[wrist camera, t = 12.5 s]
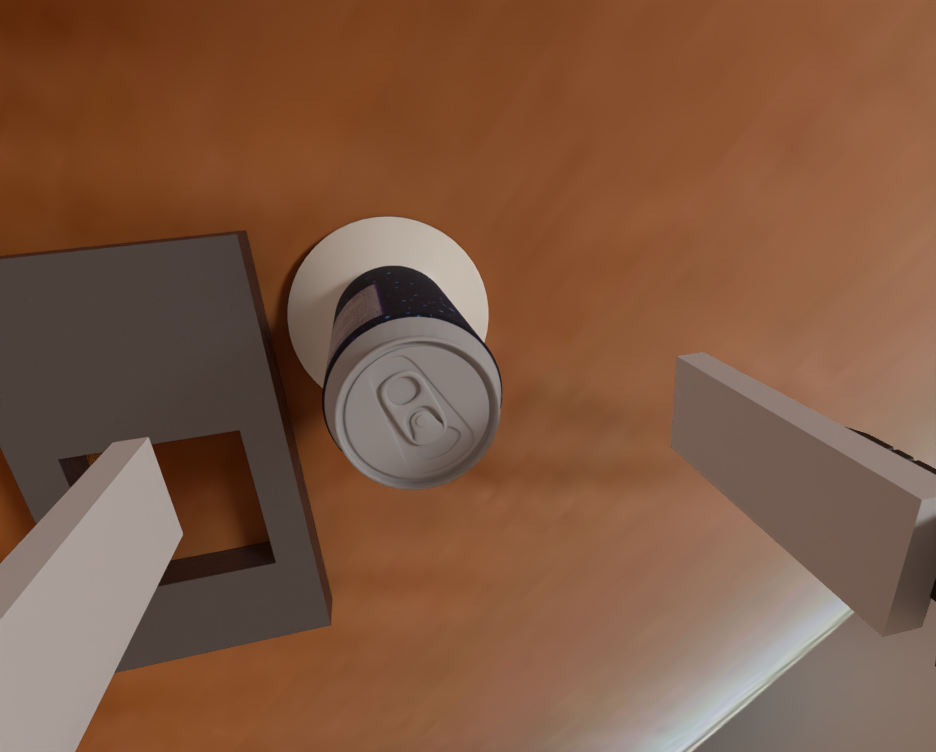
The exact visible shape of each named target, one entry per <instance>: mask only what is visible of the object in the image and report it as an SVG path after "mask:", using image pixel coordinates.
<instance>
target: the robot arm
mask: <svg viewBox="0 0 936 752" xmlns="http://www.w3.org/2000/svg"><path fill="white" fill-rule="evenodd" d="M671 448H672V449H673V450H674V451H675V452H677V453H678V454H679V455H680V456H681V457H682V458H683V459H684V460H686V461H687V462H688V463H689V464H690V465H691V466H692V467H693V468H694V469H696V470H697V471H698V472H699V473H700V474H701V475H702V476H703V477H705V478H706V479H707V480H708V481H709V482H710V483H711V484H712V485H713V486H715V487H716V488H717V489H718V490H719V491H720V492H721V493H722V494H724V495H725V496H726V497H727V498H728V499H729V500H730V501H731V502H733V503H734V504H735V505H736V506H737V507H738V508H739V509H740V510H741V511H743V512H744V513H745V514H746V515H747V516H748V517H749V518H750V519H752V520H753V521H754V522H755V523H756V524H757V525H758V526H759V527H760V528H762V529H763V530H764V531H765V532H766V533H767V534H768V535H769V536H771V537H772V538H773V539H774V540H775V541H776V542H777V543H778V544H780V545H781V546H782V547H783V548H784V549H785V550H786V551H787V552H788V553H790V554H791V555H792V556H793V557H794V558H795V559H796V560H797V561H799V562H800V563H801V564H802V565H803V566H804V567H805V568H806V569H807V570H809V571H810V572H811V573H812V574H813V575H814V576H815V577H816V578H818V579H819V580H820V581H821V582H822V583H823V584H824V585H825V586H827V587H828V588H829V589H830V590H831V591H832V592H833V593H834V594H835V595H837V596H838V597H839V598H840V599H841V600H842V601H843V602H844V603H846V604H847V605H848V606H849V607H850V608H851V609H852V610H853V611H854V612H856V613H857V614H858V615H859V616H860V617H861V618H862V619H863V620H865V621H866V622H867V623H868V624H869V625H870V626H871V627H873V628H874V629H875V630H876V631H877V632H878V633H879V634H880V635H881V636H882V637H884V636H888V635H892V634H896V633H900V632H904V631H908V630H912V629H916V628H920V627H922V625H923V622H924V619H925V616H926V613H927V610H928V607H929V604H930V600H931V598H932V599H933V600H934V601H936V469H935V468H933V467H931V466H929V465H927V464H925V463H923V462H921V461H919V460H917V461H915V460H914V459H913V457H911V456H910V455H908V454H906V453H904V452H902V451H900V450H894V449H893V447H892V446H890V445H888V444H886V443H884V442H883V441H881V440H879V439H877V438H875V437H873V436H871V435H869V434H866V433H863V432H860V431H857V430H854V429H851V428H847V427H844V426H842V425H840V424H839V423H837V422H835V421H833V420H831V419H829V418H827V417H825V416H823V415H821V414H820V413H818V412H816V411H814V410H812V409H810V408H808V407H806V406H804V405H803V404H801V403H799V402H797V401H795V400H793V399H791V398H789V397H787V396H785V395H784V394H782V393H780V392H778V391H776V390H774V389H772V388H770V387H768V386H767V385H765V384H763V383H761V382H759V381H757V380H755V379H753V378H751V377H750V376H748V375H746V374H744V373H742V372H740V371H738V370H736V369H734V368H732V367H731V366H729V365H727V364H725V363H723V362H721V361H719V360H717V359H715V358H714V357H712V356H710V355H708V354H706V353H704V352H701V353H695V354H688V355H682V356H677V362H676V377H675V391H674V406H673V420H672V435H671ZM182 536H183V532H182V529H181V527H180V524H179V521H178V518H177V515H176V512H175V510H174V507H173V504H172V501H171V498H170V496H169V493H168V490H167V487H166V484H165V482H164V479H163V476H162V473H161V470H160V468H159V465H158V462H157V459H156V456H155V454H154V451H153V448H152V445H151V442H150V439H149V437H145V438H139V439H132V440H125V441H119V442H113V443H112V444H111V445H110V446H109V447H108V448H107V449H106V450H105V451H104V452H103V454H102V455H101V456H100V457H99V458H98V459H97V460H96V461H95V462H94V463H93V464H92V465H91V466H90V468H89V469H88V470H87V471H86V472H85V473H84V474H83V475H82V476H81V477H80V478H79V479H78V480H77V482H76V483H75V484H74V485H73V486H72V487H71V488H70V489H69V490H68V491H67V492H66V493H65V494H64V496H63V497H62V498H61V499H60V500H59V501H58V502H57V503H56V504H55V505H54V506H53V507H52V509H51V510H50V511H49V512H48V513H47V514H46V515H45V516H44V517H43V518H42V519H41V520H40V521H39V523H38V524H37V525H36V526H35V527H34V528H33V529H32V530H31V531H30V532H29V533H28V534H27V535H26V537H25V538H24V539H23V540H22V541H21V542H20V543H19V544H18V545H17V546H16V547H15V548H14V549H13V551H12V552H11V553H10V554H9V555H8V556H7V557H6V558H5V559H4V560H3V561H2V562H1V563H0V752H75V751H76V749H77V747H78V745H79V743H80V741H81V739H82V737H83V735H84V733H85V731H86V729H87V727H88V725H89V723H90V721H91V719H92V717H93V715H94V713H95V711H96V709H97V707H98V705H99V703H100V701H101V699H102V697H103V695H104V692H105V690H106V688H107V686H108V684H109V682H110V680H111V678H112V676H113V674H114V672H115V670H116V668H117V666H118V664H119V662H120V660H121V658H122V656H123V654H124V652H125V650H126V648H127V646H128V644H129V642H130V640H131V638H132V636H133V634H134V632H135V630H136V628H137V626H138V624H139V622H140V620H141V618H142V616H143V614H144V612H145V610H146V608H147V606H148V604H149V602H150V600H151V598H152V596H153V594H154V592H155V590H156V588H157V586H158V584H159V582H160V580H161V578H162V576H163V574H164V572H165V570H166V568H167V566H168V564H169V562H170V560H171V558H172V556H173V554H174V552H175V550H176V548H177V546H178V544H179V542H180V540H181V538H182ZM935 666H936V664H935Z"/></svg>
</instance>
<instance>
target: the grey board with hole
mask: <svg viewBox="0 0 936 752" xmlns="http://www.w3.org/2000/svg"><path fill="white" fill-rule="evenodd" d="M238 430H240V433H241V437H242V441H243V444H244V448H245V452H246V455H247V459H248V463H249V466H250V470H251V474H252V477H253V481H254V484H255V488H256V492H257V495H258V499H259V503H260V506H261V510H262V514H263V517H264V521H265V525H266V528H267V532H268V536H269V539H270V542H267V543H262V544H256V545H251V546H246V547H241V548H236V549H231V550H225V551H220V552H215V553H210V554H205V555H200V556H194V557H189V558H184V559H179V560H174V561H170V562H169V564H168V566H167V568H166V570H165V572H164V574H163V576H162V578H161V580H160V582H159V584H158V586H157V588H156V590H155V592H154V594H153V596H152V598H151V600H150V602H149V604H148V606H147V608H146V610H145V612H144V614H143V616H142V618H141V620H140V622H139V624H138V626H137V628H136V630H135V632H134V634H133V636H132V638H131V640H130V642H129V644H128V646H127V648H126V650H125V652H124V654H123V656H122V658H121V660H120V662H119V664H118V666H117V668H116V670H115V672H114V673H117V672H121V671H126V670H130V669H135V668H139V667H144V666H148V665H153V664H157V663H162V662H166V661H171V660H175V659H180V658H185V657H189V656H194V655H198V654H203V653H207V652H212V651H216V650H221V649H225V648H230V647H234V646H239V645H243V644H248V643H252V642H257V641H262V640H266V639H271V638H275V637H280V636H284V635H289V634H293V633H298V632H302V631H307V630H311V629H316V628H320V627H325V626H330V625H331V613H332V597H331V592H330V588H329V584H328V580H327V575H326V571H325V567H324V562H323V558H322V554H321V550H320V545H319V541H318V537H317V532H316V528H315V524H314V520H313V515H312V511H311V507H310V502H309V498H308V494H307V490H306V485H305V481H304V477H303V472H302V468H301V464H300V460H299V455H298V451H297V447H296V442H295V438H294V434H293V430H292V425H291V421H290V417H289V412H288V408H287V404H286V400H285V395H284V391H283V387H282V382H281V378H280V374H279V370H278V365H277V361H276V357H275V353H274V348H273V344H272V340H271V335H270V331H269V327H268V323H267V318H266V314H265V310H264V305H263V301H262V297H261V293H260V288H259V284H258V280H257V275H256V271H255V267H254V263H253V258H252V254H251V250H250V245H249V241H248V237H247V233H246V230H245V231H235V232H226V233H216V234H207V235H197V236H188V237H178V238H169V239H159V240H150V241H140V242H131V243H121V244H111V245H102V246H92V247H83V248H73V249H64V250H54V251H45V252H35V253H26V254H16V255H7V256H0V448H1V450H2V452H3V454H4V456H5V459H6V461H7V463H8V465H9V467H10V469H11V471H12V474H13V476H14V478H15V480H16V482H17V484H18V487H19V489H20V491H21V493H22V495H23V497H24V499H25V502H26V504H27V506H28V508H29V510H30V512H31V515H32V517H33V519H34V521H35V523H36V525H37V524H38V523H39V521H40V520H41V519H42V518H43V517H44V516H45V515H46V514H47V513H48V512H49V511H50V510H51V509H52V507H53V506H54V505H55V504H56V503H57V502H58V501H59V500H60V499H61V498H62V497H63V496H64V494H65V493H66V492H67V491H68V490H69V489H70V488H71V487H72V486H73V485H74V484H75V483H76V482H77V480H78V479H79V478H80V477H81V476H82V475H83V474H84V473H85V472H86V471H87V470H88V469H89V468H90V466H89V463H88V461H87V458H86V456H85V455H88V454H95V453H101V452H104V451H105V450H106V449H107V448H108V447H109V446H110V445H111V444H112V443H113V442H119V441H125V440H132V439H139V438H145V437H149V439H150V442H151V444H157V443H163V442H169V441H176V440H182V439H188V438H194V437H201V436H207V435H213V434H219V433H225V432H232V431H238Z"/></svg>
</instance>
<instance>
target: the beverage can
mask: <svg viewBox="0 0 936 752" xmlns="http://www.w3.org/2000/svg"><path fill="white" fill-rule="evenodd" d="M501 403H502V382H501V376H500V372H499V369H498V366H497V363H496V361H495V359H494V357H493V355H492V353H491V352H490V350H489V349H488V347H487V346H486V345H485V343H484V342H483V341H482V340H481V338H480V337H479V336H478V335H477V333H476V332H475V331H474V330H473V328H472V327H471V326H470V325H469V323H468V322H467V321H466V320H465V319H464V317H463V316H462V315H461V314H460V312H459V311H458V310H457V309H456V307H455V306H454V305H453V304H452V302H451V301H450V300H449V299H448V297H447V296H446V295H445V294H444V292H443V291H442V290H441V289H440V287H439V286H438V285H437V284H436V283H435V282H434V281H433V280H432V279H431V278H429V277H428V276H426V275H425V274H423V273H421V272H419V271H417V270H415V269H412V268H409V267H404V266H382V267H378V268H374V269H372V270H369V271H367V272H365V273H363V274H361V275H360V276H358V277H357V278H356V279H355V280H353V281H352V282H351V283H350V284H349V285H348V287H347V288H346V289H345V290H344V292H343V293H342V295H341V297H340V299H339V301H338V304H337V307H336V311H335V316H334V323H333V329H332V335H331V341H330V347H329V353H328V360H327V366H326V372H325V378H324V384H323V392H322V409H323V415H324V419H325V423H326V426H327V429H328V431H329V433H330V435H331V437H332V439H333V440H334V442H335V443H336V445H337V446H338V447H339V449H340V450H341V451H342V452H343V453H344V454H345V456H346V457H347V459H348V460H349V461H350V462H351V464H352V465H353V466H354V467H355V468H356V469H358V470H359V471H360V472H361V473H362V474H364V475H365V476H367V477H368V478H370V479H371V480H373V481H375V482H378V483H380V484H382V485H385V486H389V487H392V488H397V489H405V490H421V489H427V488H433V487H437V486H440V485H444V484H446V483H448V482H450V481H453V480H455V479H457V478H458V477H460V476H462V475H463V474H465V473H466V472H467V471H469V470H470V469H471V468H472V467H474V466H475V465H476V464H477V463H478V462H479V460H480V459H481V458H482V457H483V456H484V455H485V453H486V452H487V450H488V449H489V447H490V445H491V443H492V441H493V439H494V437H495V435H496V431H497V428H498V425H499V418H500V409H501Z"/></svg>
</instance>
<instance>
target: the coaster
mask: <svg viewBox="0 0 936 752" xmlns="http://www.w3.org/2000/svg"><path fill="white" fill-rule="evenodd" d="M382 266H404V267H409V268H412V269H415V270H417V271H419V272H421V273H423V274H425V275H426V276H428V277H429V278H431V279H432V280H433V281H434V282H435V283H436V284H437V285H438V286H439V287H440V289H441V290H442V291H443V292H444V294H445V295H446V296H447V297H448V299H449V300H450V301H451V302H452V304H453V305H454V306H455V307H456V309H457V310H458V311H459V312H460V314H461V315H462V316H463V317H464V319H465V320H466V321H467V322H468V323H469V325H470V326H471V327H472V328H473V330H474V331H475V332H476V333H477V335H478V336H479V337H480V338H481V340H482V341H483V342H485V338H486V334H487V327H488V302H487V295H486V292H485V288H484V284H483V282H482V279H481V277H480V275H479V272H478V270H477V269H476V267H475V265H474V264H473V262H472V260H471V259H470V258H469V257H468V255H467V254H466V253H465V251H464V250H463V249H462V248H461V247H460V246H459V245H458V244H457V243H456V242H454V241H453V240H452V239H451V238H449V237H448V236H447V235H445V234H444V233H442V232H440V231H439V230H437V229H435V228H433V227H431V226H429V225H427V224H424V223H422V222H419V221H416V220H412V219H408V218H403V217H393V216H382V217H372V218H366V219H361V220H358V221H355V222H352V223H349V224H347V225H345V226H343V227H341V228H339V229H337V230H335V231H334V232H332V233H331V234H329V235H328V236H326V237H325V238H324V239H323V240H322V241H321V242H319V243H318V244H317V245H316V246H315V247H314V248H313V250H312V251H311V252H310V253H309V254H308V256H307V257H306V258H305V260H304V262H303V263H302V265H301V266H300V268H299V269H298V272H297V274H296V276H295V278H294V281H293V284H292V287H291V291H290V294H289V301H288V328H289V334H290V338H291V341H292V345H293V348H294V350H295V352H296V354H297V357H298V359H299V360H300V362H301V364H302V365H303V367H304V369H305V370H306V371H307V373H308V374H309V375H310V376H311V377H312V379H313V380H314V381H315V382H316V383H317V384H318V385H320V386H321V387H322V388H323V384H324V378H325V372H326V366H327V360H328V353H329V347H330V341H331V335H332V329H333V323H334V316H335V311H336V307H337V304H338V301H339V299H340V297H341V295H342V293H343V292H344V290H345V289H346V288H347V287H348V285H349V284H350V283H351V282H352V281H353V280H355V279H356V278H357V277H358V276H360V275H361V274H363V273H365V272H367V271H369V270H372V269H374V268H378V267H382Z"/></svg>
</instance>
